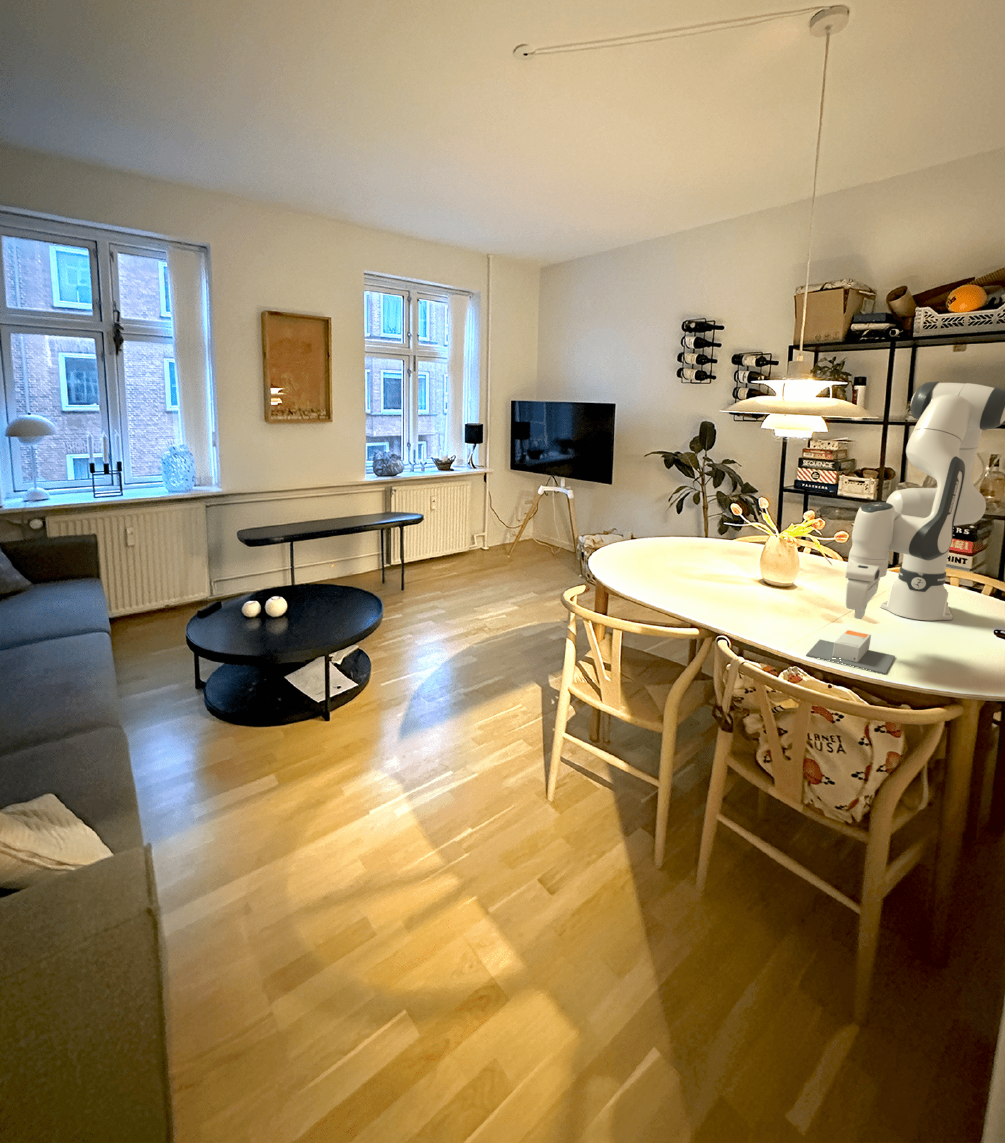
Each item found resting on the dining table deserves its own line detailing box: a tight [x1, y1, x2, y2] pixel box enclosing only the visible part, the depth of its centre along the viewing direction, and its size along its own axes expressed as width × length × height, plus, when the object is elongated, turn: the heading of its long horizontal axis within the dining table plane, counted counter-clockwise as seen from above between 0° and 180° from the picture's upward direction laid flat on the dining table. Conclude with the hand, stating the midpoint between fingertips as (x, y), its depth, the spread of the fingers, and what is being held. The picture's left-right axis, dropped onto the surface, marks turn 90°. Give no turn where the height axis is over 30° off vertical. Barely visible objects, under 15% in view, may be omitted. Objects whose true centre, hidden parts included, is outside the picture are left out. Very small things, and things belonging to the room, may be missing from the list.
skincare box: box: [832, 629, 872, 662], centre depth 162 cm, size 6×4×12 cm
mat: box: [805, 639, 896, 675], centre depth 161 cm, size 14×18×1 cm
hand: (859, 617), depth 162 cm, fingers closed
